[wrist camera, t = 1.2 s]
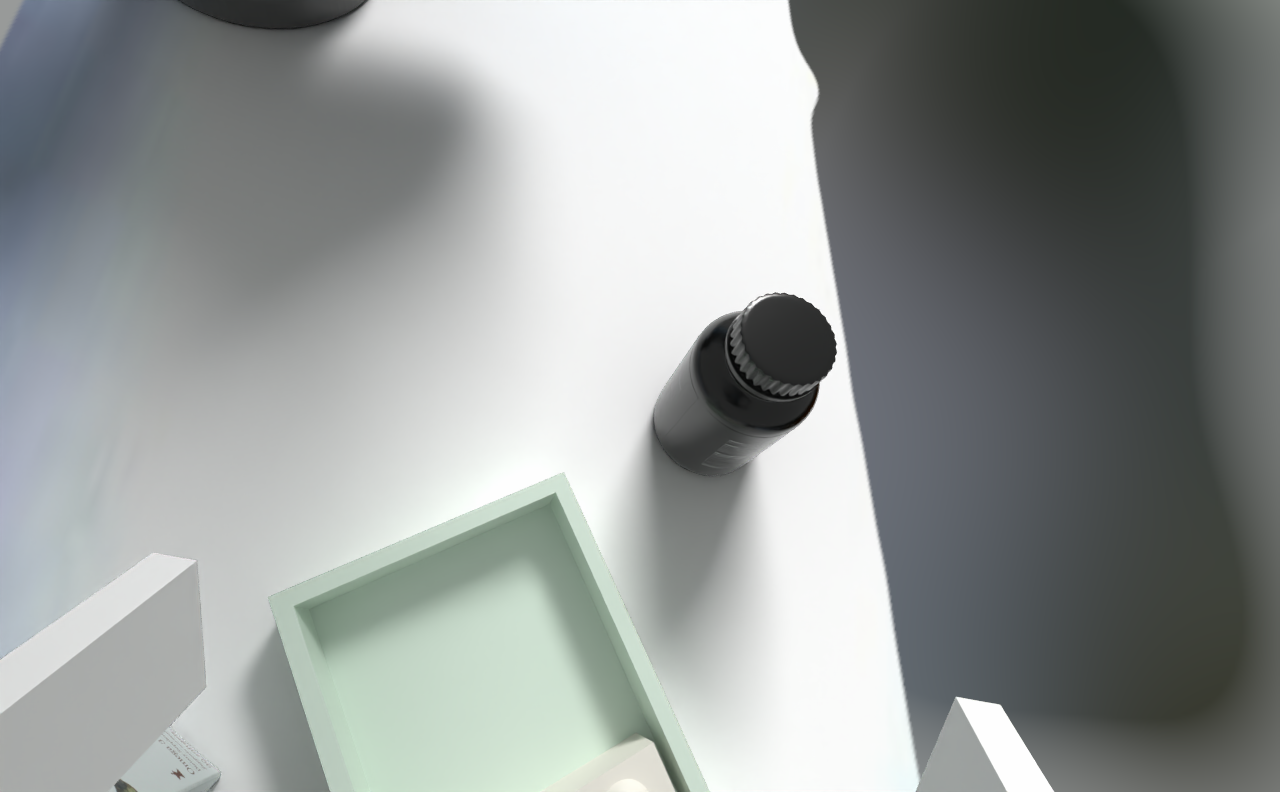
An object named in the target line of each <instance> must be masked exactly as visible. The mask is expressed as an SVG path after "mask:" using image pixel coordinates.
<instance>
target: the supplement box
mask: <svg viewBox="0 0 1280 792" xmlns="http://www.w3.org/2000/svg"><path fill="white" fill-rule="evenodd" d="M220 776H221V771H220V770H219V769H217V768H216V767H215V766H214V765H212V764H211V763H210V762H209V761H207V760H206V759H205V758H204V757H203V756H202V755H200V754H199V753H198V752H197V751H196V750H194V749H193V748H192V747H191V746H190V745H189V744H188V743H186V742H185V741H184V740H183V739H182V738H181V737H180V736H179V735H177V734H176V733H175V732H174V731H173V730H172V729H171V728H170V727H168V728H167V729H166V730H165V731H164V733H163V734H162V735H161V736H160V737H159V738H158V739H157V740H156V741H155V742H154V743H153V744H152V745H151V746H150V747H149V748H148V750H147V751H146V752H145V753H144V754H143V755H142V756H141V757H140V758H139V759H138V760H137V761H136V762H135V763H134V764H133V765H132V767H131V768H130V769H129V770H128V771H127V772H126V773H125V774H124V775H123V776H122V777H121V778H120V779H119V780H118V781H117V782H116V784H115V785H114V786H113V787H112V788H111V789H110V790H109V791H108V792H207V791H208V790H209V789H210V788H211V787H212V786H213V784H214V783H215V782H216V781H217V780H218V779H219V778H220Z"/></svg>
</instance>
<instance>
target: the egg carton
mask: <svg viewBox="0 0 1280 792" xmlns="http://www.w3.org/2000/svg"><path fill="white" fill-rule="evenodd" d="M540 792H675V789H674V787H673V785H672V783H671V780H670V778H669V776H668V774H667V771H666V769H665V767H664V765H663V762H662V760H661V758H660V756H659V753H658V751H657V749H656V747H655V744H654V742H652V741H650V740H648V739H647V738H645V737H643V736H641V735H639V734H638V733H634V734H633V735H631V736H630V737H628V738H626V739H625V740H623V741H621V742H620V743H618V744H617V745H615V746H613V747H612V748H610V749H608V750H607V751H605V752H604V753H602V754H600V755H599V756H597V757H595V758H594V759H592V760H591V761H589V762H587V763H586V764H584V765H582V766H581V767H579V768H578V769H576V770H574V771H573V772H571V773H569V774H568V775H566V776H565V777H563V778H561V779H560V780H558V781H556V782H555V783H553V784H552V785H550V786H548V787H547V788H545V789H543V790H542V791H540Z"/></svg>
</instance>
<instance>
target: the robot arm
mask: <svg viewBox="0 0 1280 792" xmlns="http://www.w3.org/2000/svg"><path fill="white" fill-rule="evenodd" d="M180 1H181V2H183V3H185V4H186V5H188V6H190V7H192V8H194V9H196V10H198V11H200V12H202V13H205V14H207V15H210V16H212V17H215V18H218V19H221V20H225V21H228V22H232V23H237V24H241V25H247V26H253V27H263V28H294V27H303V26H310V25H315V24H319V23H323V22H326V21H329V20H332V19H335V18H337V17H340V16H342V15H344V14H346V13H348V12H350V11H351V10H353V9H355V8H356V7H357V6H359V5H360V4H361V3H362V2H364V1H365V0H180ZM205 688H206V675H205V661H204V648H203V634H202V620H201V606H200V593H199V579H198V565H197V560H192V559H186V558H180V557H175V556H169V555H164V554H158V553H152V554H150V555H149V556H147V557H146V558H145V559H143V560H142V561H140V562H139V563H137V564H136V565H135V566H133V567H132V568H130V569H129V570H127V571H126V572H125V573H123V574H122V575H120V576H119V577H117V578H116V579H114V580H113V581H112V582H110V583H109V584H107V585H106V586H104V587H103V588H102V589H100V590H99V591H97V592H96V593H94V594H93V595H92V596H90V597H89V598H87V599H86V600H84V601H83V602H82V603H80V604H79V605H77V606H76V607H74V608H73V609H72V610H70V611H69V612H67V613H66V614H64V615H63V616H62V617H60V618H59V619H57V620H56V621H54V622H53V623H52V624H50V625H49V626H47V627H46V628H44V629H43V630H42V631H40V632H39V633H37V634H36V635H34V636H33V637H32V638H30V639H29V640H27V641H26V642H24V643H23V644H22V645H20V646H19V647H17V648H16V649H14V650H13V651H12V652H10V653H9V654H7V655H6V656H4V657H3V658H2V659H0V792H108V791H109V790H110V789H111V788H112V787H113V786H114V785H115V784H116V782H117V781H118V780H119V779H120V778H121V777H122V776H123V775H124V774H125V773H126V772H127V771H128V770H129V769H130V768H131V767H132V765H133V764H134V763H135V762H136V761H137V760H138V759H139V758H140V757H141V756H142V755H143V754H144V753H145V752H146V751H147V750H148V748H149V747H150V746H151V745H152V744H153V743H154V742H155V741H156V740H157V739H158V738H159V737H160V736H161V735H162V734H163V733H164V731H165V730H166V729H167V728H168V727H169V726H170V725H171V724H172V723H173V722H174V721H175V720H176V719H177V718H178V717H179V716H180V714H181V713H182V712H183V711H184V710H185V709H186V708H187V707H188V706H189V705H190V704H191V703H192V702H193V701H194V700H195V699H196V697H197V696H198V695H199V694H200V693H201V692H202V691H203V690H204V689H205ZM916 792H1054V791H1053V790H1052V788H1051V786H1050V785H1049V783H1048V782H1047V780H1046V778H1045V777H1044V775H1043V773H1042V772H1041V770H1040V769H1039V767H1038V765H1037V764H1036V762H1035V761H1034V759H1033V757H1032V756H1031V754H1030V752H1029V751H1028V749H1027V748H1026V746H1025V745H1024V743H1023V741H1022V739H1021V738H1020V736H1019V735H1018V733H1017V731H1016V730H1015V728H1014V727H1013V725H1012V723H1011V722H1010V720H1009V718H1008V717H1007V715H1006V714H1005V712H1004V710H1003V709H1002V707H1001V705H998V704H992V703H987V702H981V701H976V700H969V699H964V698H959V697H956V698H955V700H954V702H953V705H952V707H951V710H950V712H949V714H948V716H947V719H946V721H945V724H944V726H943V728H942V731H941V733H940V735H939V738H938V740H937V742H936V745H935V747H934V750H933V752H932V754H931V757H930V759H929V761H928V764H927V766H926V769H925V771H924V773H923V776H922V778H921V780H920V783H919V785H918V787H917V790H916Z"/></svg>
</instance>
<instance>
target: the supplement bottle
mask: <svg viewBox="0 0 1280 792" xmlns="http://www.w3.org/2000/svg"><path fill="white" fill-rule="evenodd" d="M834 338H835V334H834V333H833V331H832V330H831V325H830V324H829V323H828V322H827V320H826V317H824V316H823V315H822V314H821V312H820V311H819V310H818V309H817V308H815V307H814V306H813V305H812V304H811V303H808V302H806V301H805V300H804V299H803V298H798V297H796V296H795V295H788V294H786V293H781V294H780V293H776V292H775V293H773V294H766V295H764V296H761V297H758V298H757V299H756V300H754V301H752V302H750V303H749V305H748V306H747V307H746V308H745V309H744V310H743V311H737V312H733V313H729V314H726V315H724V316H721V317H719V318H718V319H716V320H714V321H713V322H712V323H710V324H709V325H708V326H707V327H706V328H705V329H704V331H703V332H702V333H701V334H700V335H699V337H698V338H697V340H696V341H695V342H694V344H693V345H692V347H691V348H690V350H689V351H688V353H687V354H686V356H685V357H684V359H683V360H682V361H681V363H680V364H679V366H678V367H677V369H676V370H675V372H674V373H673V375H672V376H671V378H670V379H669V380H668V382H667V383H666V385H665V386H664V388H663V390H662V391H661V393H660V395H659V397H658V399H657V402H656V405H655V410H654V426H655V431H656V434H657V437H658V440H659V442H660V444H661V446H662V447H663V449H664V450H665V452H666V453H667V454H668V455H669V457H670V458H671V459H672V460H674V461H675V462H676V463H677V464H678V465H680V466H681V467H683V468H685V469H687V470H689V471H691V472H694V473H697V474H701V475H707V476H717V475H724V474H727V473H730V472H732V471H735V470H737V469H738V468H740V467H742V466H743V465H745V464H746V463H748V462H749V461H750V460H752V459H753V458H754V457H756V456H757V455H759V454H760V453H761V452H763V451H764V450H766V449H767V448H768V447H770V446H771V445H773V444H774V443H775V442H777V441H778V440H779V439H781V438H782V437H784V436H785V435H786V434H788V433H789V432H790V431H792V430H793V429H795V428H796V427H797V426H798V425H800V424H801V423H802V422H803V421H804V420H805V419H806V418H807V417H808V415H809V414H810V413H811V411H812V409H813V407H814V405H815V403H816V400H817V397H818V393H819V386H820V381H822V380H823V379H824V378H825V377H826V376H827V374H828V372H830V371H831V369H832V365H833V363H834V362H835V355H836V353H837V351H836V344H837V343H836V341H835V339H834Z"/></svg>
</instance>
